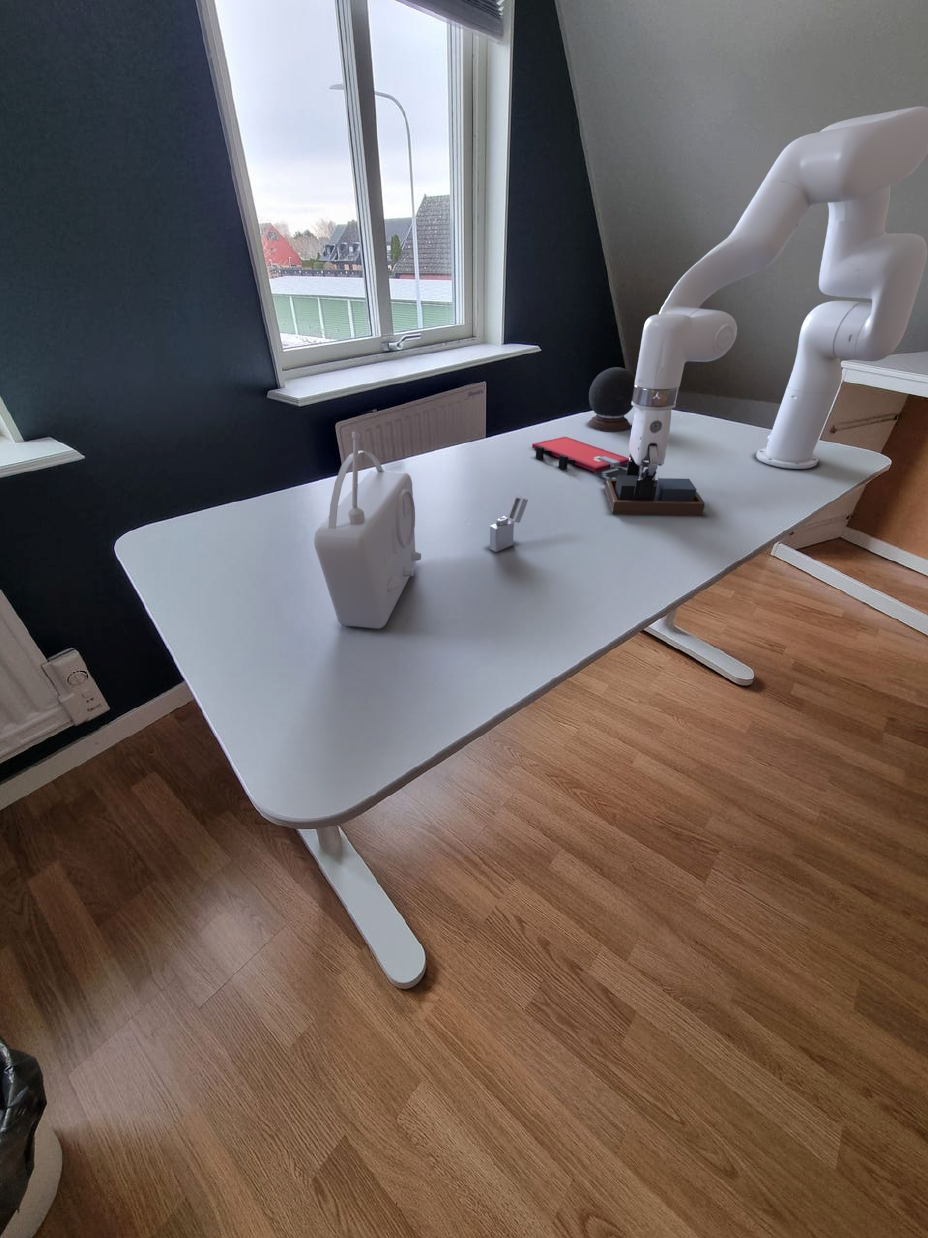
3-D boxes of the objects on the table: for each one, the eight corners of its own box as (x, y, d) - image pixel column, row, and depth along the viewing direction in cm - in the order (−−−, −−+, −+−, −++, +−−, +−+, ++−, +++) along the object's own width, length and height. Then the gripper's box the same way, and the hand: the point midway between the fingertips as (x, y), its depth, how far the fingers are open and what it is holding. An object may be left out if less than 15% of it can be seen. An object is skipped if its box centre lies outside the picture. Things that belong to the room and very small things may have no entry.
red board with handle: (606, 487, 105) (655, 473, 111) (608, 474, 103) (657, 461, 109) (520, 451, 125) (565, 442, 132) (520, 440, 124) (566, 431, 130)
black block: (614, 494, 101) (617, 475, 99) (647, 494, 101) (651, 475, 98) (618, 505, 97) (621, 485, 95) (652, 505, 96) (657, 486, 94)
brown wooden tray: (604, 490, 104) (606, 478, 103) (685, 491, 103) (688, 480, 101) (612, 513, 95) (614, 501, 94) (701, 515, 94) (705, 503, 92)
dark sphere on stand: (641, 429, 138) (652, 370, 129) (599, 434, 136) (607, 374, 127) (617, 417, 149) (626, 361, 140) (577, 421, 146) (583, 365, 137)
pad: (654, 494, 101) (658, 478, 99) (684, 495, 100) (689, 478, 98) (660, 506, 96) (664, 488, 94) (692, 506, 96) (696, 489, 94)
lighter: (495, 552, 84) (496, 508, 79) (489, 548, 85) (489, 504, 80) (525, 539, 88) (528, 496, 83) (519, 535, 89) (521, 493, 84)
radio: (390, 642, 65) (363, 453, 50) (331, 636, 66) (287, 449, 52) (428, 560, 82) (417, 400, 67) (380, 556, 84) (359, 398, 69)
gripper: (689, 409, 80) (667, 508, 91) (665, 384, 94) (648, 473, 104) (642, 409, 81) (625, 508, 91) (624, 385, 95) (611, 473, 105)
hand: (637, 489), depth 98 cm, fingers open, 8 cm apart
